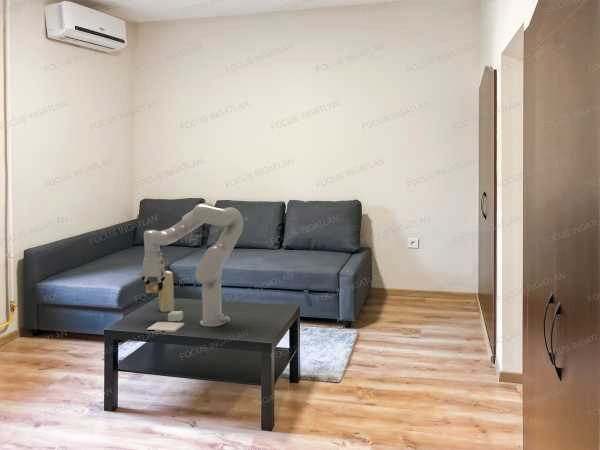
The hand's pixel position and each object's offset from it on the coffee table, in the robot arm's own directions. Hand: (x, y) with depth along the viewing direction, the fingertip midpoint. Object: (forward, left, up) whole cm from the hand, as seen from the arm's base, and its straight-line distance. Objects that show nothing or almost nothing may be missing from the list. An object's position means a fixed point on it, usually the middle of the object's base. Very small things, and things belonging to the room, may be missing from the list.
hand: (154, 289), depth 286 cm
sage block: (-10, -3, -17) cm, 19 cm away
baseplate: (-11, +11, -16) cm, 22 cm away
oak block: (0, 0, -1) cm, 1 cm away
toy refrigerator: (+3, -20, -17) cm, 26 cm away
